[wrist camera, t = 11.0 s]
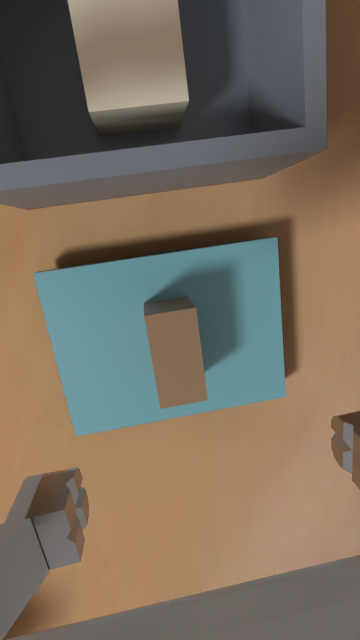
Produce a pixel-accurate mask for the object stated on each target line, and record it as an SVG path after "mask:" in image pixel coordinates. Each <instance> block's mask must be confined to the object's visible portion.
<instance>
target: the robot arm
mask: <svg viewBox="0 0 360 640" xmlns="http://www.w3.org/2000/svg"><path fill="white" fill-rule="evenodd" d="M331 428H332V429H333V430H334V431H335V432H336V433H335V434H334V436H333V437H332V439H331V447H332V451H333V454H334V457H335V459H336V461H337V462H338V464H339V465H340V466H341V468H342V469H343V470H345V471H347V472H350V473H352V481H353V482H354V483H355V484H356V485H357V487H358V488H359V489H360V411H356V412H351V413H347V414H342V415H337V416H333V418H332V420H331ZM81 483H82V475H81V472H80V469H78V468H73V469H67V470H61V471H56V472H50V473H45V474H40V475H35V476H29V477H27V478H26V479H25V480H24V481H23V484H22V486H21V488H20V490H19V492H18V494H17V497H16V499H15V501H14V503H13V505H12V508H11V510H10V512H9V514H8V516H7V518H6V521H5V523H4V524H0V640H3V639H4V637H5V636H6V634H7V633H8V631H9V630H10V628H11V627H12V626H13V624H14V623H15V621H16V620H17V618H18V617H19V615H20V614H21V612H22V611H23V609H24V608H25V607H26V605H27V604H28V602H29V601H30V599H31V598H32V596H33V595H34V593H35V592H36V591H37V589H38V588H39V586H40V585H41V583H42V582H43V580H44V579H45V577H46V576H47V574H48V573H49V570H50V569H54V568H58V567H62V566H66V565H70V564H74V563H78V562H81V557H82V552H83V546H84V541H85V538H84V534H83V531H82V530H83V529H84V528H85V527H86V526H87V523H88V517H89V503H88V496H87V492H86V490H85V489H84V488H82V487H81ZM5 640H360V555H357V556H353V557H349V558H345V559H340V560H336V561H332V562H328V563H324V564H319V565H315V566H311V567H307V568H303V569H298V570H294V571H290V572H286V573H282V574H278V575H273V576H269V577H265V578H261V579H257V580H252V581H248V582H244V583H240V584H236V585H231V586H227V587H223V588H219V589H215V590H211V591H206V592H202V593H198V594H194V595H190V596H185V597H181V598H177V599H173V600H169V601H165V602H160V603H156V604H152V605H148V606H144V607H139V608H135V609H131V610H127V611H123V612H118V613H114V614H110V615H106V616H102V617H98V618H93V619H89V620H85V621H81V622H77V623H72V624H68V625H64V626H60V627H56V628H51V629H47V630H43V631H39V632H35V633H31V634H26V635H22V636H18V637H14V638H10V639H5Z"/></svg>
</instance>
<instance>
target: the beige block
mask: <svg viewBox="0 0 360 640" xmlns="http://www.w3.org/2000/svg"><path fill="white" fill-rule="evenodd" d="M68 5H69V10H70V16H71V21H72V26H73V32H74V37H75V42H76V48H77V53H78V58H79V63H80V69H81V74H82V79H83V85H84V90H85V95H86V101H87V106H88V111H89V114H90V116H91V119H92V121H93V123H94V126H95V128H96V130H97V133H98V135H99V136H104V135H113V134H121V133H130V132H138V131H147V130H155V129H164V128H172V127H180V125H181V122H182V119H183V116H184V113H185V111H186V108H187V105H188V102H189V96H188V88H187V79H186V70H185V61H184V52H183V43H182V34H181V25H180V17H179V8H178V0H68Z"/></svg>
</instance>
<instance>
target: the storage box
mask: <svg viewBox="0 0 360 640" xmlns="http://www.w3.org/2000/svg"><path fill="white" fill-rule="evenodd" d="M178 8H179V17H180V25H181V34H182V43H183V52H184V61H185V70H186V79H187V88H188V96H189V102H188V105H187V108H186V111H185V113H184V116H183V119H182V122H181V125H180V127H172V128H164V129H155V130H147V131H138V132H130V133H121V134H113V135H104V136H99V135H98V133H97V130H96V128H95V126H94V123H93V121H92V119H91V116H90V114H89V111H88V106H87V101H86V95H85V90H84V85H83V79H82V74H81V69H80V63H79V58H78V53H77V48H76V42H75V37H74V32H73V26H72V21H71V16H70V10H69V5H68V0H0V204H3V205H8V206H13V207H17V208H22V209H27V210H29V209H37V208H44V207H52V206H59V205H67V204H74V203H82V202H89V201H97V200H104V199H112V198H119V197H127V196H134V195H142V194H149V193H157V192H164V191H172V190H180V189H187V188H195V187H202V186H210V185H217V184H225V183H232V182H240V181H247V180H255V179H262V178H265V177H267V176H269V175H271V174H274V173H276V172H278V171H280V170H282V169H285V168H287V167H289V166H291V165H293V164H296V163H298V162H300V161H302V160H304V159H306V158H309V157H311V156H313V155H315V154H317V153H320V152H322V151H324V150H326V149H327V77H326V0H178Z"/></svg>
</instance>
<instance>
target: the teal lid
mask: <svg viewBox="0 0 360 640" xmlns="http://www.w3.org/2000/svg"><path fill="white" fill-rule="evenodd" d="M33 275H34V278H35V282H36V286H37V290H38V294H39V298H40V301H41V305H42V309H43V313H44V317H45V320H46V324H47V328H48V332H49V336H50V340H51V343H52V347H53V351H54V355H55V359H56V362H57V366H58V370H59V374H60V378H61V381H62V385H63V389H64V393H65V397H66V401H67V404H68V408H69V412H70V416H71V420H72V423H73V427H74V431H75V435H76V436H80V435H86V434H91V433H96V432H102V431H107V430H112V429H118V428H123V427H128V426H134V425H139V424H144V423H149V422H155V421H160V420H165V419H171V418H176V417H181V416H187V415H192V414H197V413H203V412H208V411H213V410H219V409H224V408H229V407H235V406H240V405H245V404H250V403H256V402H261V401H266V400H272V399H277V398H282V397H286V391H285V372H284V353H283V334H282V315H281V296H280V277H279V258H278V239H277V237H269V238H262V239H255V240H248V241H242V242H235V243H228V244H221V245H215V246H208V247H201V248H194V249H188V250H181V251H174V252H167V253H161V254H154V255H147V256H140V257H134V258H127V259H120V260H113V261H107V262H100V263H93V264H86V265H80V266H73V267H66V268H59V269H53V270H46V271H39V272H36V273H33Z"/></svg>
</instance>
